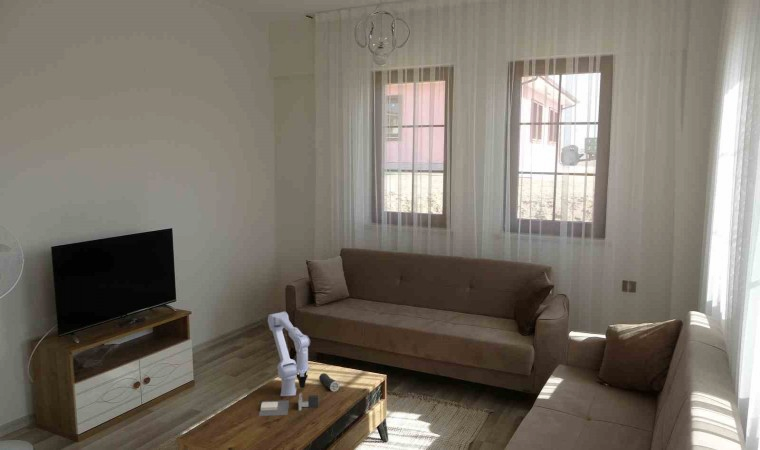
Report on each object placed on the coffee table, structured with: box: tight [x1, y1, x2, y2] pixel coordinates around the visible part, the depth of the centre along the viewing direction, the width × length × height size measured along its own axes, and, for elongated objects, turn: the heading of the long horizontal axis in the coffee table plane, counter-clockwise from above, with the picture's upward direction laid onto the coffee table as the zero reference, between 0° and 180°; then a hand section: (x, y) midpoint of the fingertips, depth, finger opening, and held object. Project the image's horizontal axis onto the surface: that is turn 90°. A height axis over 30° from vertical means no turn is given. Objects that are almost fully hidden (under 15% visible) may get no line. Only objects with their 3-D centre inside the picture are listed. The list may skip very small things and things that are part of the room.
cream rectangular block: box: [260, 401, 278, 411], centre depth 285 cm, size 6×2×8 cm
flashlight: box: [318, 372, 340, 392], centre depth 314 cm, size 15×5×5 cm, turn 32°
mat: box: [258, 400, 290, 417], centre depth 286 cm, size 16×14×1 cm
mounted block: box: [298, 393, 319, 411], centre depth 287 cm, size 8×10×6 cm
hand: (302, 384), depth 292 cm, fingers open, 7 cm apart
